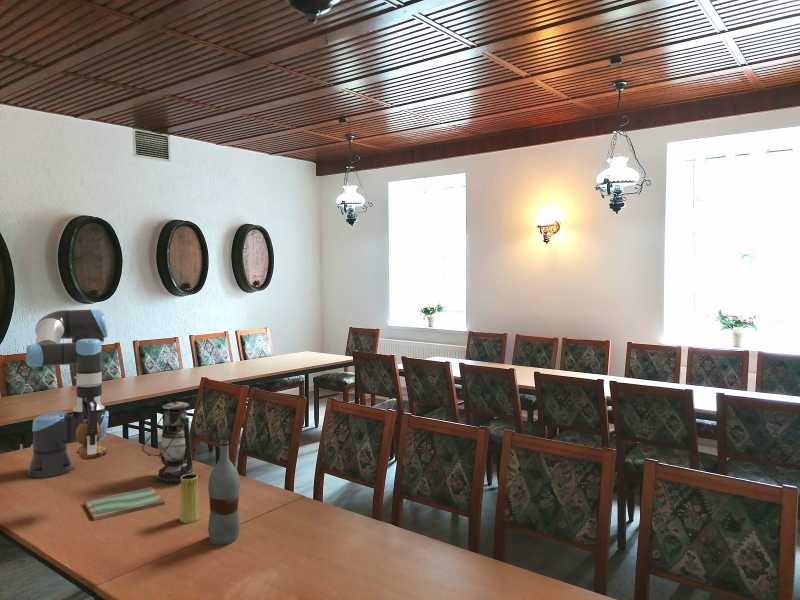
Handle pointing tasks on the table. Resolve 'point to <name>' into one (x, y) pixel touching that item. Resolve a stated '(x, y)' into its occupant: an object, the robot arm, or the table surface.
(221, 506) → the bottle
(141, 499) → the green framed board
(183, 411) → the lantern
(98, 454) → the figurine
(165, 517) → the table surface
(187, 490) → the vase
